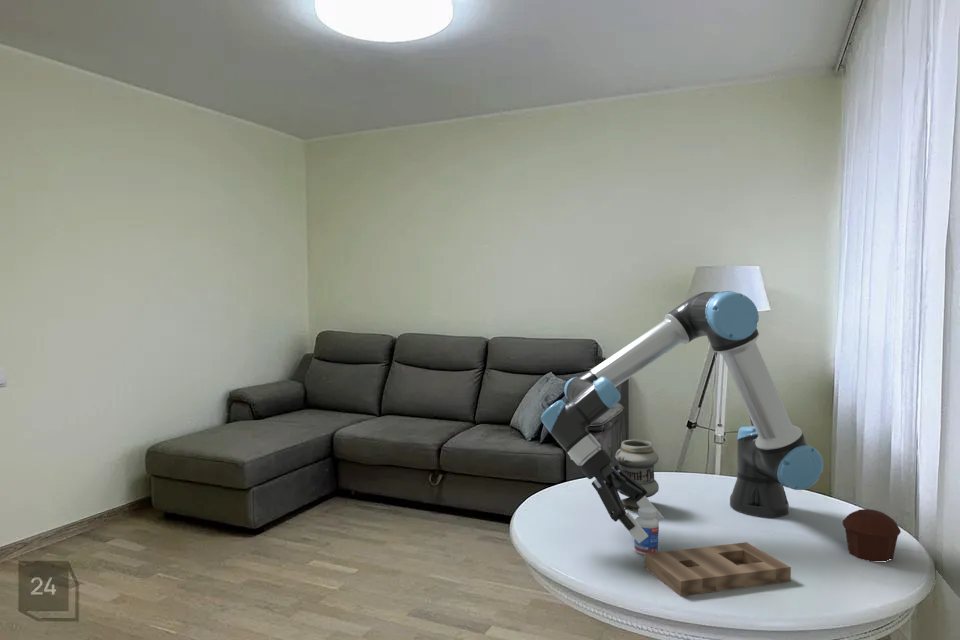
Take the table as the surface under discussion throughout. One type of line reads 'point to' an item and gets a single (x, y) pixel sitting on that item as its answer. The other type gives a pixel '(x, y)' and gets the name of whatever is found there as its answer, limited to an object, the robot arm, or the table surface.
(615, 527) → the table surface
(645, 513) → the pill bottle
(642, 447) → the apothecary jar
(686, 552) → the socket board
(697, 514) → the table surface
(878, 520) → the muffin
